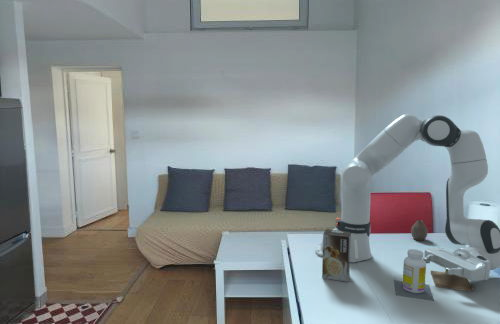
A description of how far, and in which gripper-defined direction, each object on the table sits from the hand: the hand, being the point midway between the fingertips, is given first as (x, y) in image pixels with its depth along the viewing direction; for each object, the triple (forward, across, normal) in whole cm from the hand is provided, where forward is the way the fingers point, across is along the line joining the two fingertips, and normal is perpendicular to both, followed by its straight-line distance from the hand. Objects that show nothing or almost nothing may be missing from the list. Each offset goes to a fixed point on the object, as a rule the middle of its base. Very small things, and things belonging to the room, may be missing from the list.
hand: (435, 265), depth 122 cm
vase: (-32, -39, +7) cm, 51 cm away
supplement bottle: (+9, 0, +7) cm, 11 cm away
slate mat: (+9, 0, +7) cm, 11 cm away
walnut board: (-8, -1, +7) cm, 11 cm away
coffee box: (+27, -17, +8) cm, 33 cm away
